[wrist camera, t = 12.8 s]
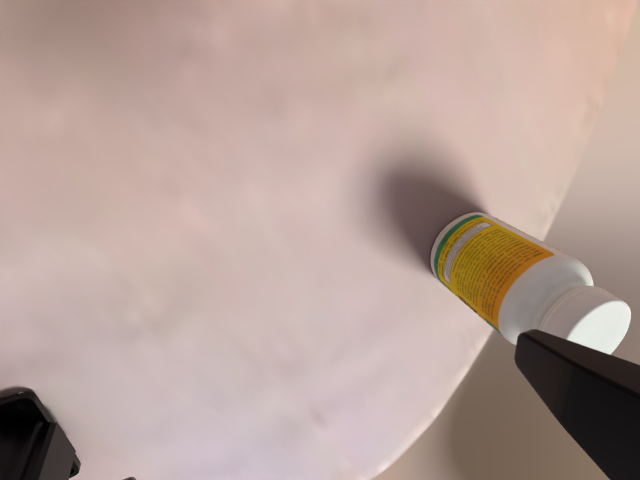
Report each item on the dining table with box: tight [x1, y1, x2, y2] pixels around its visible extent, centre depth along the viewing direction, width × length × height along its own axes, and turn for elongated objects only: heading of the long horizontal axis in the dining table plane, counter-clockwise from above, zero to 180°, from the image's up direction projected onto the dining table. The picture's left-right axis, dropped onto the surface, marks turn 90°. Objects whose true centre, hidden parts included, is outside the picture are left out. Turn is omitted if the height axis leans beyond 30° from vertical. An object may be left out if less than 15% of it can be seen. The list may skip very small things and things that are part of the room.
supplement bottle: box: [431, 212, 631, 355], centre depth 21 cm, size 5×5×10 cm
